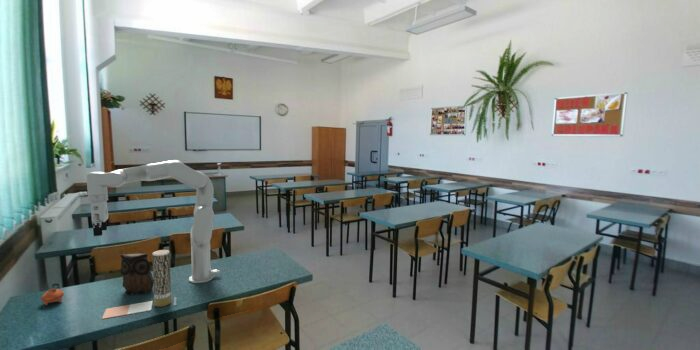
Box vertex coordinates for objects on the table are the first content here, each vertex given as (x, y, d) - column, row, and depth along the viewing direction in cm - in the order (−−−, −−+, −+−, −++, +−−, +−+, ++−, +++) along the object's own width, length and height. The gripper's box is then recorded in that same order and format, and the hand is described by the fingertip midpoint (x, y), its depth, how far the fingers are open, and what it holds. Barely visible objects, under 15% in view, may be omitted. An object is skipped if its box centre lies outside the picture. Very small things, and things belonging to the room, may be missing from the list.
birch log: (160, 299, 157) (158, 249, 155) (174, 300, 157) (172, 250, 155) (151, 307, 151) (149, 254, 148) (165, 307, 151) (163, 255, 148)
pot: (69, 296, 158) (66, 285, 156) (58, 308, 151) (55, 296, 148) (50, 297, 156) (47, 285, 154) (38, 309, 149) (35, 297, 147)
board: (176, 297, 160) (176, 296, 160) (176, 305, 152) (176, 305, 152) (106, 309, 148) (106, 308, 148) (101, 319, 140) (101, 318, 140)
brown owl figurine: (155, 291, 165) (153, 253, 163) (125, 299, 157) (122, 259, 155) (149, 283, 174) (147, 247, 172) (120, 290, 166) (118, 252, 164)
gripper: (103, 200, 150) (106, 236, 152) (111, 194, 165) (113, 227, 167) (83, 201, 146) (85, 238, 148) (93, 195, 162) (95, 229, 164)
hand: (100, 232), depth 158 cm, fingers open, 9 cm apart
